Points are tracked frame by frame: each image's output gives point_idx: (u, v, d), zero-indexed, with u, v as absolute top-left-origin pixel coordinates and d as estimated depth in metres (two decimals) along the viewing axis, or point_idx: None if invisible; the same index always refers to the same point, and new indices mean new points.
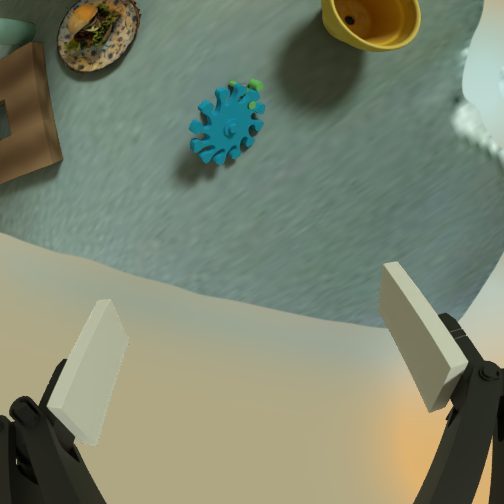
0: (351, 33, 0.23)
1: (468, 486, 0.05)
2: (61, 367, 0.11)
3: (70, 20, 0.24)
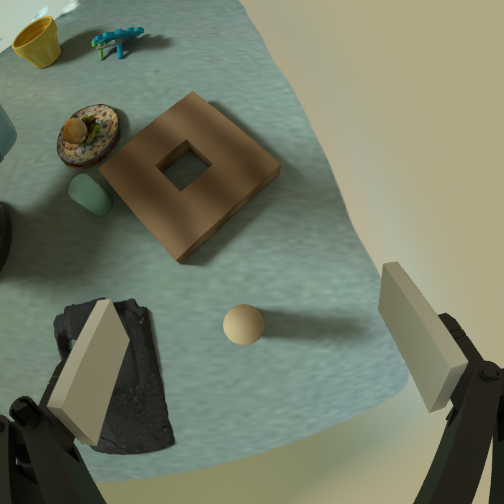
0: (49, 24, 0.40)
1: (468, 486, 0.05)
2: (60, 367, 0.11)
3: (73, 130, 0.39)
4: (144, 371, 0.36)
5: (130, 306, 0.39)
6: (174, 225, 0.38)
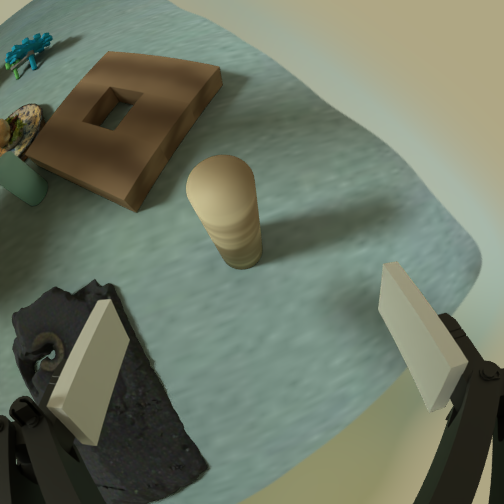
0: None
1: (468, 485, 0.05)
2: (60, 367, 0.11)
3: None
4: (129, 370, 0.24)
5: (91, 289, 0.27)
6: (114, 164, 0.28)
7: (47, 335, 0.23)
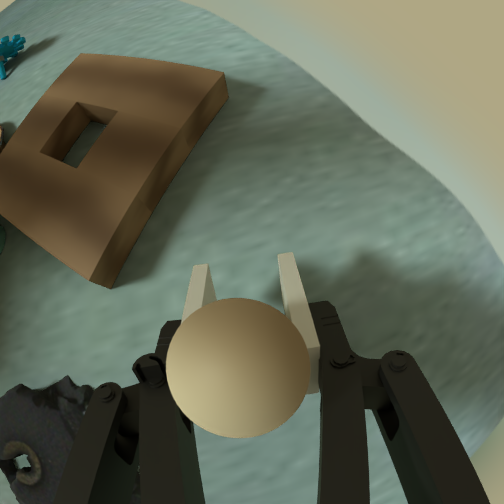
0: None
1: (357, 474, 0.06)
2: (167, 328, 0.13)
3: None
4: None
5: (64, 388, 0.18)
6: (75, 222, 0.19)
7: (18, 445, 0.14)
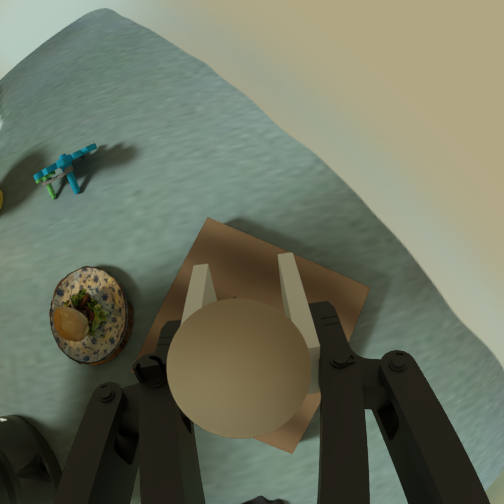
0: None
1: (357, 474, 0.06)
2: (167, 329, 0.13)
3: (69, 327, 0.29)
4: None
5: None
6: None
7: None
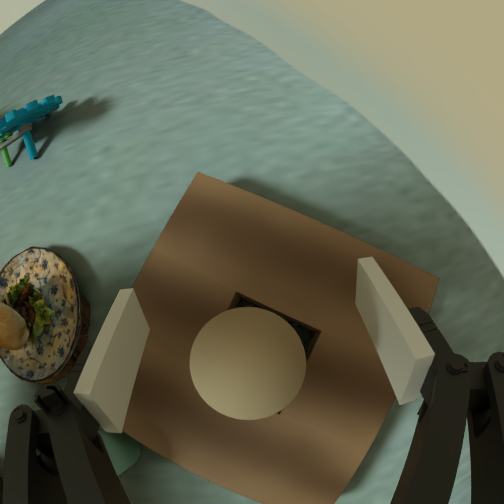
0: None
1: (444, 480, 0.05)
2: (84, 355, 0.12)
3: (0, 331, 0.17)
4: None
5: None
6: (295, 476, 0.16)
7: None
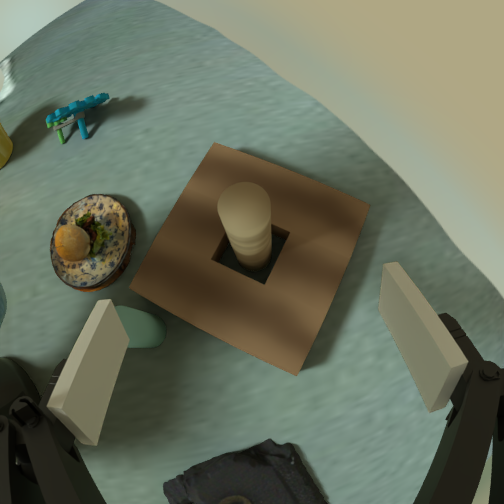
0: None
1: (468, 485, 0.05)
2: (60, 367, 0.11)
3: (70, 243, 0.29)
4: None
5: (268, 448, 0.27)
6: (276, 332, 0.28)
7: (233, 498, 0.23)
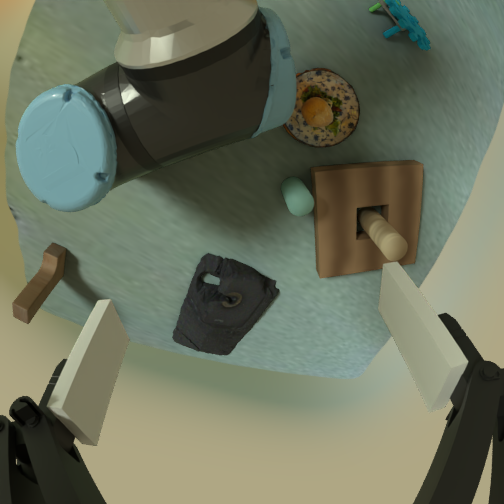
0: None
1: (468, 485, 0.05)
2: (60, 367, 0.11)
3: (319, 120, 0.38)
4: (249, 322, 0.58)
5: (271, 284, 0.56)
6: (335, 258, 0.50)
7: (238, 295, 0.53)
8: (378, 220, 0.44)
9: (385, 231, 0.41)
